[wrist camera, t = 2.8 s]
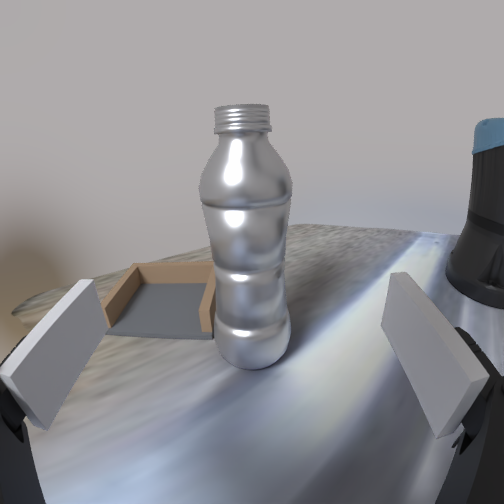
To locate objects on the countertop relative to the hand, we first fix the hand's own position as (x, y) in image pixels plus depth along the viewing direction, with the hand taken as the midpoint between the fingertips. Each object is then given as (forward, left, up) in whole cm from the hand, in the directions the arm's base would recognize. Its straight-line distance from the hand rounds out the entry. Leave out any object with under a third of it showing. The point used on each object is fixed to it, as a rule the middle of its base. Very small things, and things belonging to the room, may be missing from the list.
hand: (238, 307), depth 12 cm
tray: (+10, -18, -11) cm, 23 cm away
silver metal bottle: (0, -10, -12) cm, 15 cm away
